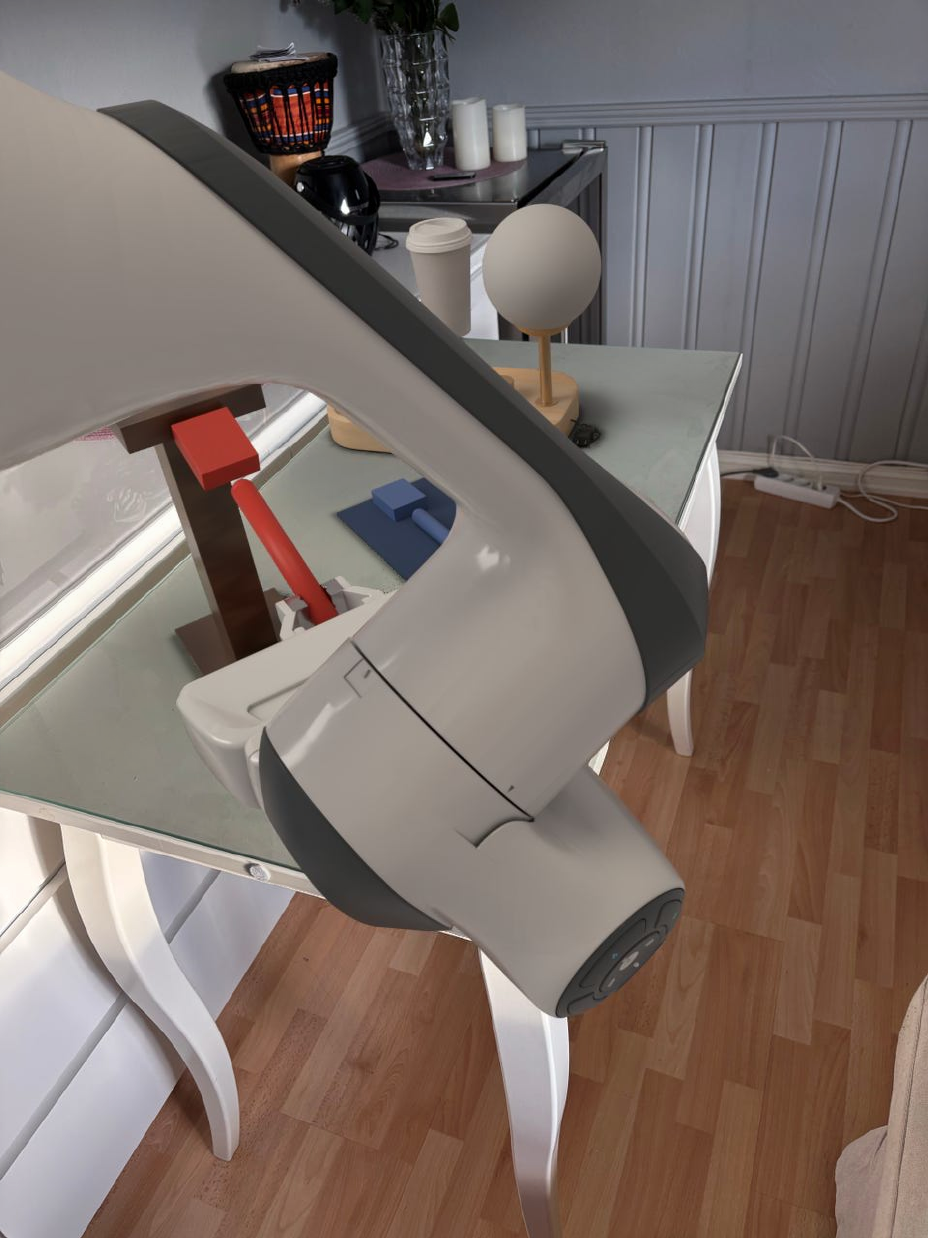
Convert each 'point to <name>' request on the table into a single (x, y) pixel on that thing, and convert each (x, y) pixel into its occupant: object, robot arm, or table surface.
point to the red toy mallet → (247, 496)
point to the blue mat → (401, 529)
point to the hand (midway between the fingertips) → (309, 598)
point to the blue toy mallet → (408, 507)
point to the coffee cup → (443, 269)
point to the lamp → (530, 308)
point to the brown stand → (211, 533)
